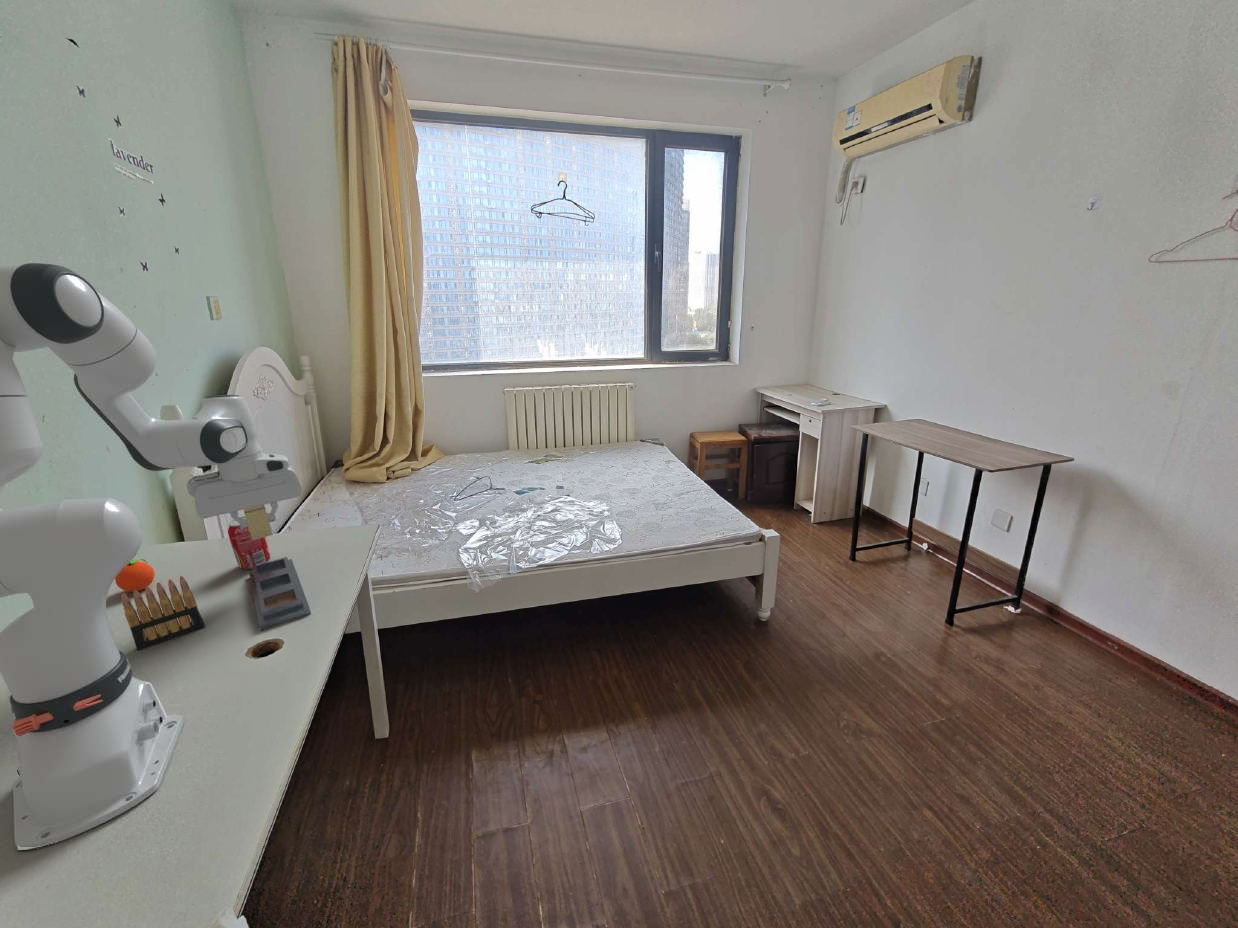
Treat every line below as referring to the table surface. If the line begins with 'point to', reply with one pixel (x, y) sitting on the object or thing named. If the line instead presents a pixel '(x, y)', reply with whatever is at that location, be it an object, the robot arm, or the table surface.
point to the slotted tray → (277, 593)
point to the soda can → (247, 546)
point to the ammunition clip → (162, 615)
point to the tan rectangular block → (258, 522)
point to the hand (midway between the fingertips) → (258, 524)
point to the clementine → (135, 576)
